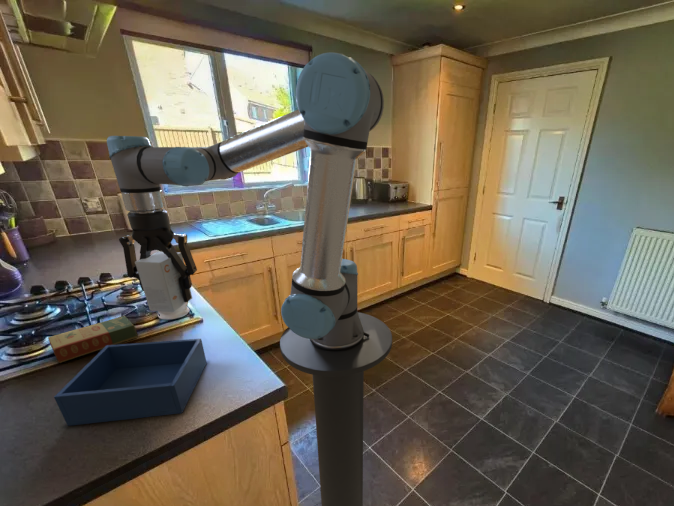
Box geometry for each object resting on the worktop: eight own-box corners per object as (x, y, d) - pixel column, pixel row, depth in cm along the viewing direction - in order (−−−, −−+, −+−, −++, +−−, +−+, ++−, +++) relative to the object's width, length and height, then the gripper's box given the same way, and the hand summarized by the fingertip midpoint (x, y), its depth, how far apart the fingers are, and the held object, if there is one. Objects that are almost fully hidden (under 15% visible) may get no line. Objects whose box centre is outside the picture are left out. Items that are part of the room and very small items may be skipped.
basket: (206, 362, 80) (201, 338, 77) (182, 413, 65) (174, 385, 62) (115, 370, 76) (106, 345, 73) (67, 426, 61) (53, 397, 58)
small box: (170, 297, 88) (158, 250, 83) (193, 298, 88) (182, 251, 82) (148, 311, 80) (133, 261, 75) (173, 312, 80) (160, 262, 75)
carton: (53, 350, 82) (46, 336, 80) (129, 327, 94) (125, 313, 92) (59, 364, 77) (52, 349, 76) (138, 337, 89) (134, 323, 87)
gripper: (199, 206, 80) (217, 292, 89) (106, 208, 76) (134, 297, 85) (189, 212, 73) (209, 304, 82) (85, 214, 69) (118, 310, 78)
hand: (171, 300), depth 84 cm, fingers closed on small box, 7 cm apart
